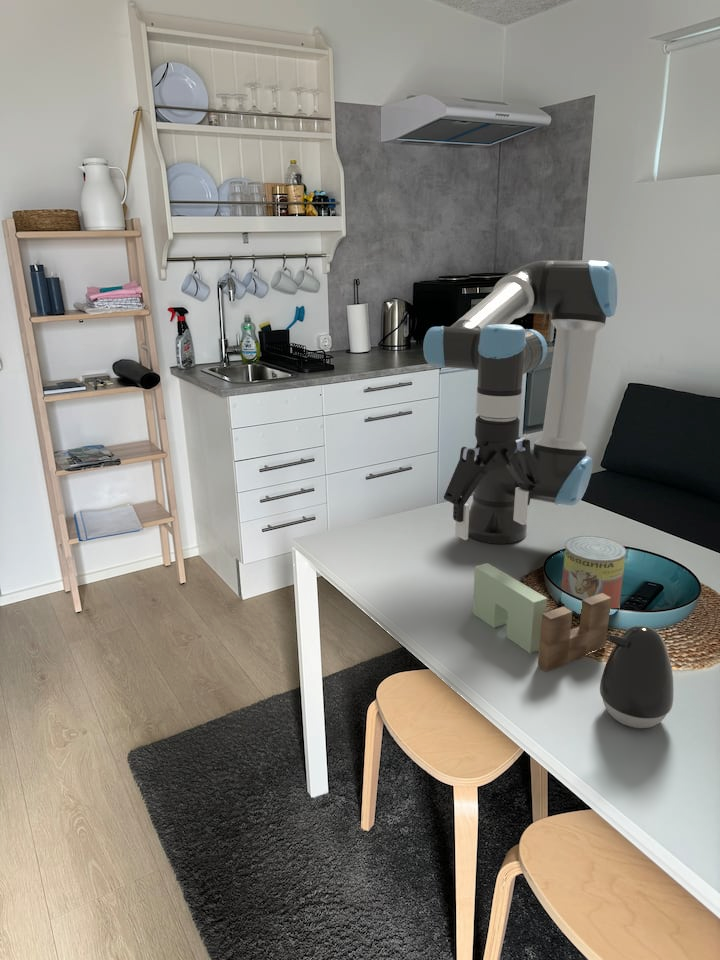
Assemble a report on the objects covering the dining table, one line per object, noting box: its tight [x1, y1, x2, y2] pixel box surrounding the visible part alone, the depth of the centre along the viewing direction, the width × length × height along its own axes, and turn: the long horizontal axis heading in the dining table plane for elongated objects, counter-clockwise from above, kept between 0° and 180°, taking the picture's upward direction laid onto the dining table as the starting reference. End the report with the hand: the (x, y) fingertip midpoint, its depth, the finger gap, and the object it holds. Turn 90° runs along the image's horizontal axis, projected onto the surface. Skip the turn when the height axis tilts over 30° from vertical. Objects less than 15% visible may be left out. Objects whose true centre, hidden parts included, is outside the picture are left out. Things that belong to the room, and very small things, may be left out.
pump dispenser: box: [599, 625, 675, 729], centre depth 102 cm, size 10×10×15 cm
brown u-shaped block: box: [537, 593, 611, 673], centre depth 118 cm, size 14×2×10 cm, turn 120°
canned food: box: [561, 535, 627, 609], centre depth 135 cm, size 11×11×12 cm
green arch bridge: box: [472, 562, 548, 654], centre depth 126 cm, size 3×16×10 cm, turn 30°
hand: (491, 529), depth 127 cm, fingers open, 13 cm apart
